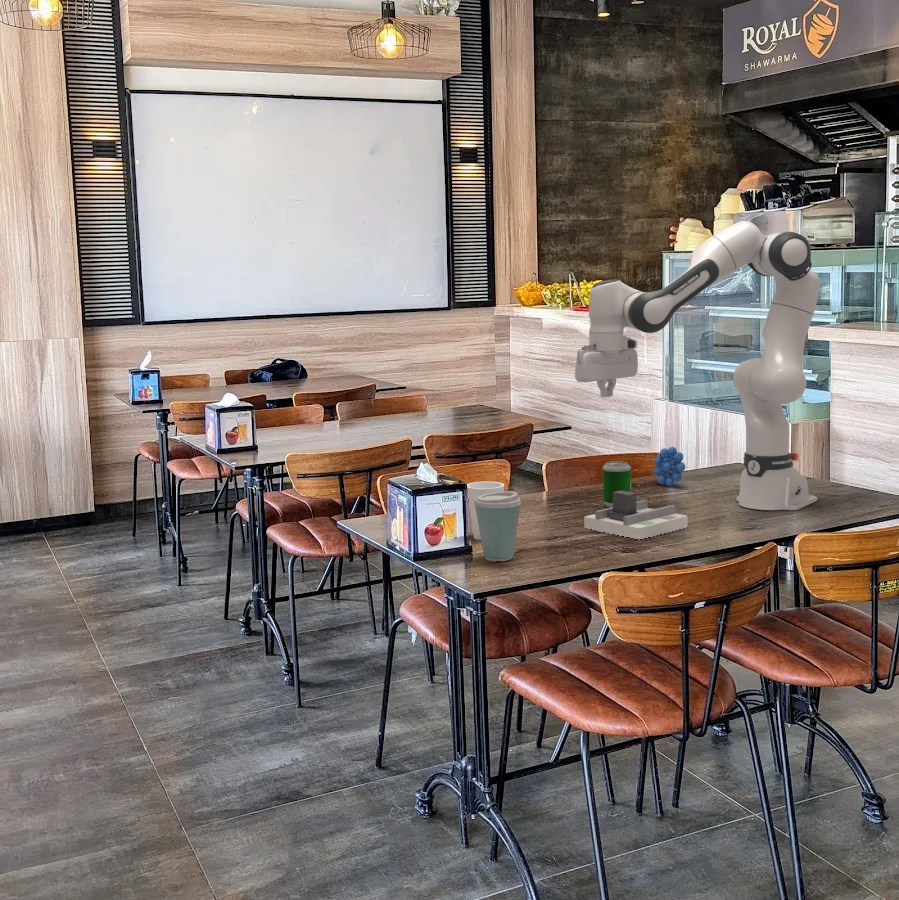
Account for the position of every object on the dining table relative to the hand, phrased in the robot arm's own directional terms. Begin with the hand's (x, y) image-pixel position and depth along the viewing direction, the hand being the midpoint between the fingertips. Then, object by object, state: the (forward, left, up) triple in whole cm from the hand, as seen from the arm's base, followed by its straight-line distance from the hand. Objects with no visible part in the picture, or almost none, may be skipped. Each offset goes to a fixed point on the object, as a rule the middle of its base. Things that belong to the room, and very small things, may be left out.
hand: (606, 396), depth 288 cm
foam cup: (+39, -4, -31) cm, 50 cm away
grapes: (-39, -11, -31) cm, 51 cm away
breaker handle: (+11, +16, -28) cm, 34 cm away
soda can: (-8, -4, -31) cm, 33 cm away
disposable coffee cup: (+50, +13, -31) cm, 60 cm away
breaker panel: (+7, +16, -31) cm, 36 cm away
